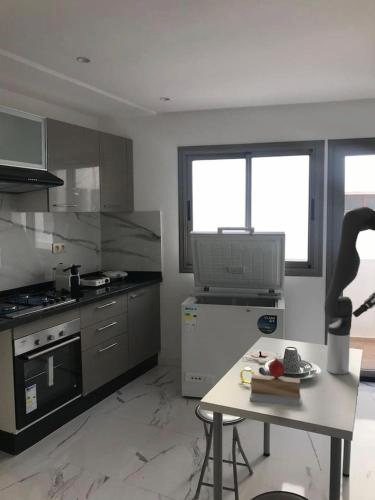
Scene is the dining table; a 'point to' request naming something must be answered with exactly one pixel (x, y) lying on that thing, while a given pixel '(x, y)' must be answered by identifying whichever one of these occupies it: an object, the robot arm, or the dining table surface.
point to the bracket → (263, 371)
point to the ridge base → (274, 399)
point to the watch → (246, 370)
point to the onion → (276, 368)
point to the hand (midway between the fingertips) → (357, 312)
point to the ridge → (275, 386)
